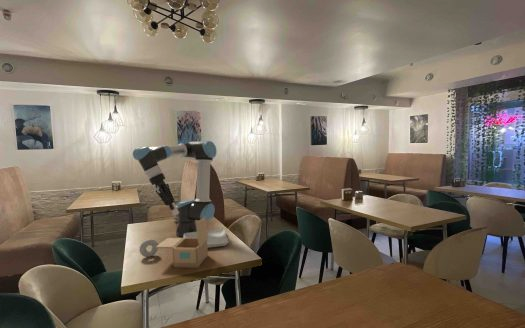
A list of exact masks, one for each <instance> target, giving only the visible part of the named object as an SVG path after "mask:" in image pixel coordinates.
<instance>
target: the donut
mask: <svg viewBox="0 0 525 328" xmlns="http://www.w3.org/2000/svg"><path fill="white" fill-rule="evenodd" d="M158 245H159V242H158V241H157V240H155V239H154V238H148V239H145V240H143V241H142V242H141V243H140V245H139V253H140V255H141V256H143V257H144V258H151V257H154V255H156V254H157V253H158V250H159V248H156V246H158ZM149 246H151V249H150V250H147V247H149Z"/></svg>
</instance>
